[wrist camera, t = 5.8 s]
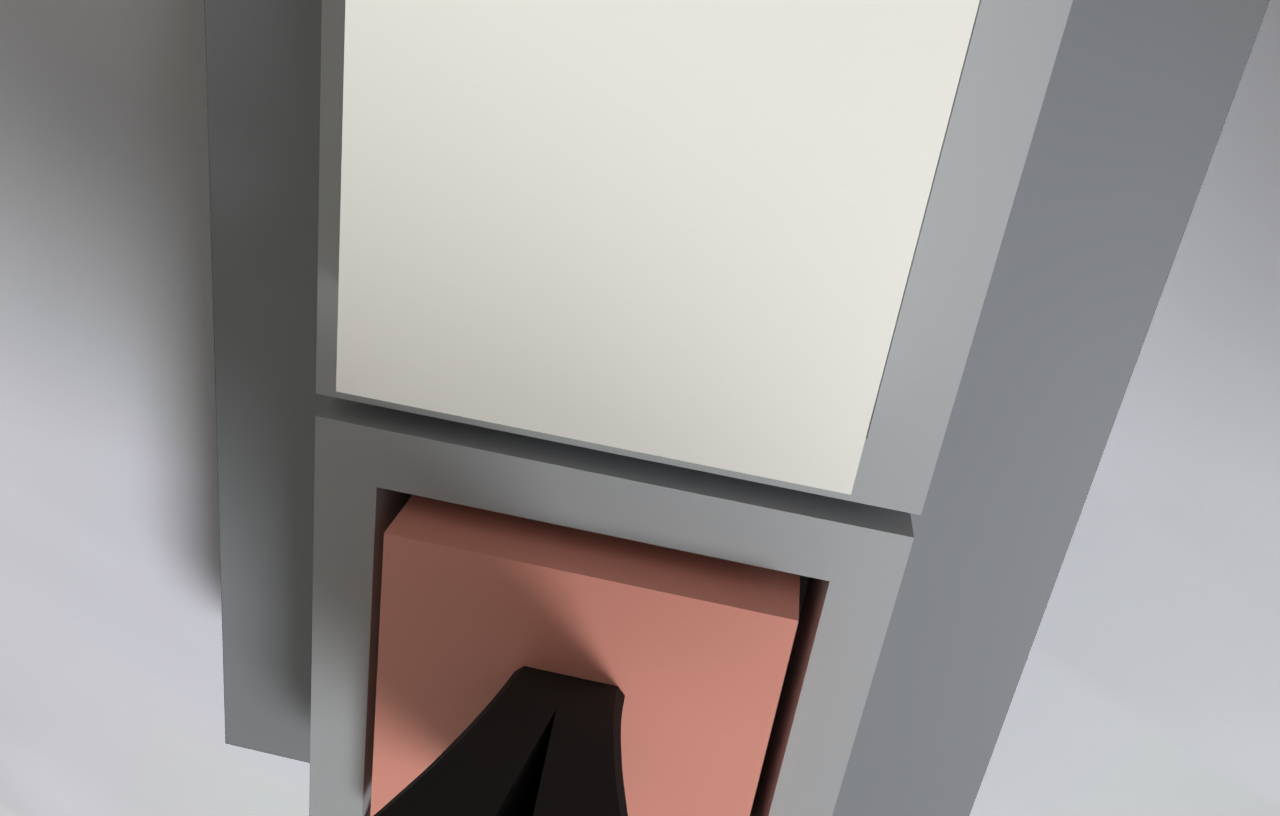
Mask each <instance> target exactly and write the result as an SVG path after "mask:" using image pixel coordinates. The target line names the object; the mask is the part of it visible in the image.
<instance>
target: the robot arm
mask: <svg viewBox="0 0 1280 816" xmlns="http://www.w3.org/2000/svg"><path fill="white" fill-rule="evenodd" d="M624 699H625V695H624V694H623V692H622V691H621V690H620V688H619V687H618V686H615V685H610V684H605V683H601V682H596V681H591V680H586V679H582V678H577V677H573V676H568V675H563V674H559V673H554V672H550V671H545V670H541V669H536V668H532V667H527V666H523V667H521V668H520V669H518V670H516V671H514V673H513V674H512V676H511V677H510V678H509V680H508V681H507V682H506V683H505V685H504V686H503V687H502V688H501V690H500V691H499V692H498V693H497V694H496V696H495V697H494V698H493V699H492V700H491V702H490V703H489V704H488V705H487V706H486V707H485V708H484V710H483V711H482V712H481V713H480V714H479V715H478V716H477V717H476V718H475V719H474V721H473V722H472V723H471V724H470V725H469V726H468V727H467V728H466V729H465V730H464V731H463V732H462V733H461V734H460V735H459V736H458V737H457V738H456V739H455V740H454V741H453V742H452V743H451V744H450V745H449V746H448V747H447V748H446V750H445V751H444V752H443V753H442V754H441V755H440V756H439V757H438V758H437V759H436V760H435V761H434V762H433V763H432V764H431V765H429V766H428V767H427V768H426V769H425V770H424V771H423V772H422V773H421V774H420V775H419V776H418V777H417V778H415V779H414V780H413V781H412V782H411V783H410V784H409V785H408V786H406V787H405V788H404V789H403V790H402V791H401V792H400V793H399V794H397V795H396V796H395V797H394V798H393V799H392V800H391V801H390V802H389V803H387V804H386V805H385V806H384V807H383V808H382V809H381V810H379V811H378V812H377V813H376V814H375V815H373V816H628V812H627V805H626V797H625V789H624V782H623V771H622V754H621V719H622V710H623V705H624Z"/></svg>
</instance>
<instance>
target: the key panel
mask: <svg viewBox="0 0 1280 816" xmlns="http://www.w3.org/2000/svg"><path fill="white" fill-rule="evenodd" d="M1269 1H1270V0H980V1H979V5H978V9H977V13H976V17H975V21H974V25H973V28H972V32H971V36H970V40H969V44H968V48H967V51H966V55H965V59H964V63H963V67H962V71H961V74H960V78H959V82H958V86H957V90H956V94H955V97H954V101H953V105H952V109H951V113H950V117H949V120H948V124H947V128H946V132H945V136H944V140H943V143H942V147H941V151H940V155H939V159H938V163H937V167H936V170H935V174H934V178H933V182H932V186H931V190H930V193H929V197H928V201H927V205H926V209H925V213H924V216H923V220H922V224H921V228H920V232H919V236H918V239H917V243H916V247H915V251H914V255H913V259H912V262H911V266H910V270H909V274H908V278H907V282H906V286H905V289H904V293H903V297H902V301H901V305H900V309H899V312H898V316H897V320H896V324H895V328H894V332H893V335H892V339H891V343H890V347H889V351H888V355H887V358H886V362H885V366H884V370H883V374H882V378H881V381H880V385H879V389H878V393H877V397H876V401H875V404H874V408H873V412H872V416H871V420H870V424H869V428H868V431H867V435H866V439H865V443H864V447H863V451H862V454H861V458H860V462H859V466H858V470H857V474H856V477H855V481H854V485H853V489H852V493H851V495H849V494H844V493H839V492H834V491H829V490H825V489H820V488H815V487H810V486H805V485H800V484H795V483H790V482H785V481H780V480H775V479H770V478H765V477H760V476H755V475H750V474H745V473H740V472H735V471H730V470H725V469H720V468H715V467H710V466H705V465H700V464H695V463H690V462H685V461H680V460H675V459H670V458H665V457H660V456H655V455H650V454H645V453H640V452H635V451H630V450H625V449H620V448H615V447H610V446H605V445H600V444H595V443H590V442H585V441H580V440H575V439H571V438H566V437H561V436H556V435H551V434H546V433H541V432H536V431H531V430H526V429H521V428H516V427H511V426H506V425H501V424H496V423H491V422H486V421H481V420H476V419H471V418H466V417H461V416H456V415H451V414H446V413H441V412H436V411H431V410H426V409H421V408H416V407H411V406H406V405H401V404H396V403H391V402H386V401H381V400H376V399H371V398H366V397H361V396H356V395H351V394H346V393H341V392H336V369H337V328H338V287H339V246H340V205H341V163H342V122H343V81H344V40H345V0H205V34H206V69H207V105H208V140H209V176H210V211H211V247H212V282H213V318H214V353H215V388H216V424H217V459H218V495H219V530H220V566H221V601H222V637H223V672H224V707H225V743H226V744H231V745H235V746H239V747H243V748H248V749H252V750H256V751H261V752H265V753H269V754H274V755H278V756H282V757H287V758H291V759H295V760H299V761H304V762H308V763H310V799H309V816H370V811H371V790H372V770H373V749H374V728H375V707H376V687H377V666H378V645H379V624H380V603H381V583H382V562H383V541H384V532H385V531H386V530H387V528H388V527H389V526H390V524H391V523H392V522H393V520H394V519H395V518H396V516H397V515H398V514H399V512H400V511H401V510H402V508H403V507H404V506H405V504H406V503H407V502H408V500H409V499H410V497H411V496H412V495H417V496H422V497H426V498H431V499H436V500H441V501H446V502H451V503H455V504H460V505H465V506H470V507H475V508H479V509H484V510H489V511H494V512H499V513H503V514H508V515H513V516H518V517H523V518H527V519H532V520H537V521H542V522H547V523H551V524H556V525H561V526H566V527H571V528H576V529H580V530H585V531H590V532H595V533H600V534H604V535H609V536H614V537H619V538H624V539H628V540H633V541H638V542H643V543H648V544H652V545H657V546H662V547H667V548H672V549H676V550H681V551H686V552H691V553H696V554H700V555H705V556H710V557H715V558H720V559H725V560H729V561H734V562H739V563H744V564H749V565H753V566H758V567H763V568H768V569H773V570H777V571H782V572H787V573H792V574H797V575H800V594H799V622H798V626H797V630H796V634H795V637H794V641H793V645H792V649H791V653H790V657H789V661H788V665H787V669H786V673H785V677H784V681H783V685H782V689H781V693H780V697H779V701H778V705H777V709H776V713H775V717H774V721H773V725H772V729H771V733H770V737H769V741H768V745H767V749H766V753H765V757H764V761H763V765H762V769H761V773H760V777H759V781H758V785H757V789H756V793H755V797H754V801H753V805H752V809H751V813H750V816H969V815H970V812H971V809H972V807H973V804H974V801H975V799H976V796H977V793H978V790H979V788H980V785H981V782H982V780H983V777H984V774H985V771H986V769H987V766H988V763H989V761H990V758H991V755H992V752H993V750H994V747H995V744H996V742H997V739H998V736H999V733H1000V731H1001V728H1002V725H1003V723H1004V720H1005V717H1006V714H1007V712H1008V709H1009V706H1010V704H1011V701H1012V698H1013V695H1014V693H1015V690H1016V687H1017V685H1018V682H1019V679H1020V676H1021V674H1022V671H1023V668H1024V666H1025V663H1026V660H1027V657H1028V655H1029V652H1030V649H1031V647H1032V644H1033V641H1034V638H1035V636H1036V633H1037V630H1038V628H1039V625H1040V622H1041V619H1042V617H1043V614H1044V611H1045V609H1046V606H1047V603H1048V600H1049V598H1050V595H1051V592H1052V590H1053V587H1054V584H1055V581H1056V579H1057V576H1058V573H1059V571H1060V568H1061V565H1062V562H1063V560H1064V557H1065V554H1066V552H1067V549H1068V546H1069V544H1070V541H1071V538H1072V535H1073V533H1074V530H1075V527H1076V525H1077V522H1078V519H1079V516H1080V514H1081V511H1082V508H1083V506H1084V503H1085V500H1086V497H1087V495H1088V492H1089V489H1090V487H1091V484H1092V481H1093V478H1094V476H1095V473H1096V470H1097V468H1098V465H1099V462H1100V459H1101V457H1102V454H1103V451H1104V449H1105V446H1106V443H1107V440H1108V438H1109V435H1110V432H1111V430H1112V427H1113V424H1114V421H1115V419H1116V416H1117V413H1118V411H1119V408H1120V405H1121V402H1122V400H1123V397H1124V394H1125V392H1126V389H1127V386H1128V383H1129V381H1130V378H1131V375H1132V373H1133V370H1134V367H1135V364H1136V362H1137V359H1138V356H1139V354H1140V351H1141V348H1142V345H1143V343H1144V340H1145V337H1146V335H1147V332H1148V329H1149V326H1150V324H1151V321H1152V318H1153V316H1154V313H1155V310H1156V307H1157V305H1158V302H1159V299H1160V297H1161V294H1162V291H1163V288H1164V286H1165V283H1166V280H1167V278H1168V275H1169V272H1170V269H1171V267H1172V264H1173V261H1174V259H1175V256H1176V253H1177V250H1178V248H1179V245H1180V242H1181V240H1182V237H1183V234H1184V231H1185V229H1186V226H1187V223H1188V221H1189V218H1190V215H1191V212H1192V210H1193V207H1194V204H1195V202H1196V199H1197V196H1198V193H1199V191H1200V188H1201V185H1202V183H1203V180H1204V177H1205V174H1206V172H1207V169H1208V166H1209V164H1210V161H1211V158H1212V155H1213V153H1214V150H1215V147H1216V145H1217V142H1218V139H1219V136H1220V134H1221V131H1222V128H1223V126H1224V123H1225V120H1226V117H1227V115H1228V112H1229V109H1230V107H1231V104H1232V101H1233V98H1234V96H1235V93H1236V90H1237V88H1238V85H1239V82H1240V79H1241V77H1242V74H1243V71H1244V69H1245V66H1246V63H1247V60H1248V58H1249V55H1250V52H1251V50H1252V47H1253V44H1254V41H1255V39H1256V36H1257V33H1258V31H1259V28H1260V25H1261V22H1262V20H1263V17H1264V14H1265V12H1266V9H1267V6H1268V3H1269Z"/></svg>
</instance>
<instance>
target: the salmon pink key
mask: <svg viewBox="0 0 1280 816" xmlns="http://www.w3.org/2000/svg"><path fill="white" fill-rule="evenodd" d="M799 594H800V575H797V574H792V573H787V572H782V571H777V570H773V569H768V568H763V567H758V566H753V565H749V564H744V563H739V562H734V561H729V560H725V559H720V558H715V557H710V556H705V555H700V554H696V553H691V552H686V551H681V550H676V549H672V548H667V547H662V546H657V545H652V544H648V543H643V542H638V541H633V540H628V539H624V538H619V537H614V536H609V535H604V534H600V533H595V532H590V531H585V530H580V529H576V528H571V527H566V526H561V525H556V524H551V523H547V522H542V521H537V520H532V519H527V518H523V517H518V516H513V515H508V514H503V513H499V512H494V511H489V510H484V509H479V508H475V507H470V506H465V505H460V504H455V503H451V502H446V501H441V500H436V499H431V498H426V497H422V496H417V495H412V496H411V497H410V499H409V500H408V502H407V503H406V504H405V506H404V507H403V508H402V510H401V511H400V512H399V514H398V515H397V516H396V518H395V519H394V520H393V522H392V523H391V524H390V526H389V527H388V528H387V530H386V531H385V532H384V541H383V562H382V583H381V603H380V624H379V645H378V666H377V687H376V707H375V728H374V749H373V770H372V790H371V811H370V816H373V815H375V814H376V813H377V812H378V811H379V810H381V809H382V808H383V807H384V806H385V805H386V804H387V803H389V802H390V801H391V800H392V799H393V798H394V797H395V796H396V795H397V794H399V793H400V792H401V791H402V790H403V789H404V788H405V787H406V786H408V785H409V784H410V783H411V782H412V781H413V780H414V779H415V778H417V777H418V776H419V775H420V774H421V773H422V772H423V771H424V770H425V769H426V768H427V767H428V766H429V765H431V764H432V763H433V762H434V761H435V760H436V759H437V758H438V757H439V756H440V755H441V754H442V753H443V752H444V751H445V750H446V748H447V747H448V746H449V745H450V744H451V743H452V742H453V741H454V740H455V739H456V738H457V737H458V736H459V735H460V734H461V733H462V732H463V731H464V730H465V729H466V728H467V727H468V726H469V725H470V724H471V723H472V722H473V721H474V719H475V718H476V717H477V716H478V715H479V714H480V713H481V712H482V711H483V710H484V708H485V707H486V706H487V705H488V704H489V703H490V702H491V700H492V699H493V698H494V697H495V696H496V694H497V693H498V692H499V691H500V690H501V688H502V687H503V686H504V685H505V683H506V682H507V681H508V680H509V678H510V677H511V676H512V674H513V673H514V671H516V670H518V669H520V668H521V667H523V666H527V667H532V668H536V669H541V670H545V671H550V672H554V673H559V674H563V675H568V676H573V677H577V678H582V679H586V680H591V681H596V682H601V683H605V684H610V685H615V686H618V687H619V688H620V690H621V691H622V692H623V694H624V695H625V699H624V705H623V710H622V719H621V754H622V771H623V782H624V789H625V797H626V805H627V812H628V816H750V813H751V809H752V805H753V801H754V797H755V793H756V789H757V785H758V781H759V777H760V773H761V769H762V765H763V761H764V757H765V753H766V749H767V745H768V741H769V737H770V733H771V729H772V725H773V721H774V717H775V713H776V709H777V705H778V701H779V697H780V693H781V689H782V685H783V681H784V677H785V673H786V669H787V665H788V661H789V657H790V653H791V649H792V645H793V641H794V637H795V634H796V630H797V626H798V622H799Z"/></svg>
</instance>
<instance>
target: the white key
mask: <svg viewBox="0 0 1280 816" xmlns="http://www.w3.org/2000/svg"><path fill="white" fill-rule="evenodd" d="M979 1H980V0H345V40H344V81H343V122H342V163H341V205H340V246H339V287H338V328H337V369H336V392H341V393H346V394H351V395H356V396H361V397H366V398H371V399H376V400H381V401H386V402H391V403H396V404H401V405H406V406H411V407H416V408H421V409H426V410H431V411H436V412H441V413H446V414H451V415H456V416H461V417H466V418H471V419H476V420H481V421H486V422H491V423H496V424H501V425H506V426H511V427H516V428H521V429H526V430H531V431H536V432H541V433H546V434H551V435H556V436H561V437H566V438H571V439H575V440H580V441H585V442H590V443H595V444H600V445H605V446H610V447H615V448H620V449H625V450H630V451H635V452H640V453H645V454H650V455H655V456H660V457H665V458H670V459H675V460H680V461H685V462H690V463H695V464H700V465H705V466H710V467H715V468H720V469H725V470H730V471H735V472H740V473H745V474H750V475H755V476H760V477H765V478H770V479H775V480H780V481H785V482H790V483H795V484H800V485H805V486H810V487H815V488H820V489H825V490H829V491H834V492H839V493H844V494H849V495H851V493H852V489H853V485H854V481H855V477H856V474H857V470H858V466H859V462H860V458H861V454H862V451H863V447H864V443H865V439H866V435H867V431H868V428H869V424H870V420H871V416H872V412H873V408H874V404H875V401H876V397H877V393H878V389H879V385H880V381H881V378H882V374H883V370H884V366H885V362H886V358H887V355H888V351H889V347H890V343H891V339H892V335H893V332H894V328H895V324H896V320H897V316H898V312H899V309H900V305H901V301H902V297H903V293H904V289H905V286H906V282H907V278H908V274H909V270H910V266H911V262H912V259H913V255H914V251H915V247H916V243H917V239H918V236H919V232H920V228H921V224H922V220H923V216H924V213H925V209H926V205H927V201H928V197H929V193H930V190H931V186H932V182H933V178H934V174H935V170H936V167H937V163H938V159H939V155H940V151H941V147H942V143H943V140H944V136H945V132H946V128H947V124H948V120H949V117H950V113H951V109H952V105H953V101H954V97H955V94H956V90H957V86H958V82H959V78H960V74H961V71H962V67H963V63H964V59H965V55H966V51H967V48H968V44H969V40H970V36H971V32H972V28H973V25H974V21H975V17H976V13H977V9H978V5H979Z"/></svg>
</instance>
